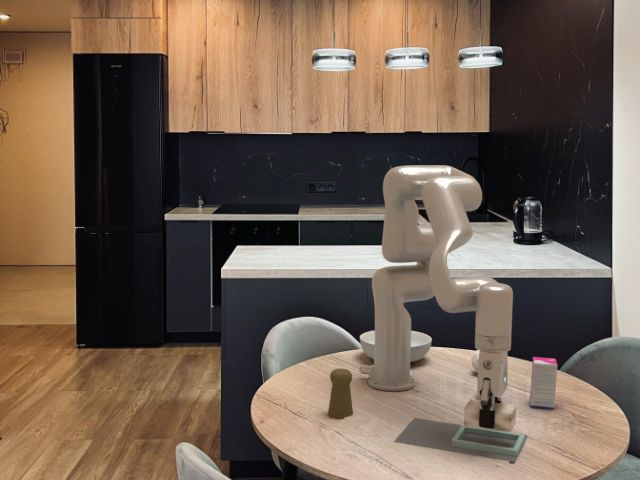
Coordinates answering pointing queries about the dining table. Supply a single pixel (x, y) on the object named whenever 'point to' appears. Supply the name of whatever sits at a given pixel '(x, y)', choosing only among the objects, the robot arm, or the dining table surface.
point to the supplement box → (543, 383)
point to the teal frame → (486, 447)
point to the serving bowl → (418, 344)
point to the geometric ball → (475, 360)
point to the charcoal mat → (443, 433)
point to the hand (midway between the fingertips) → (489, 421)
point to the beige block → (503, 415)
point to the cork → (340, 394)
